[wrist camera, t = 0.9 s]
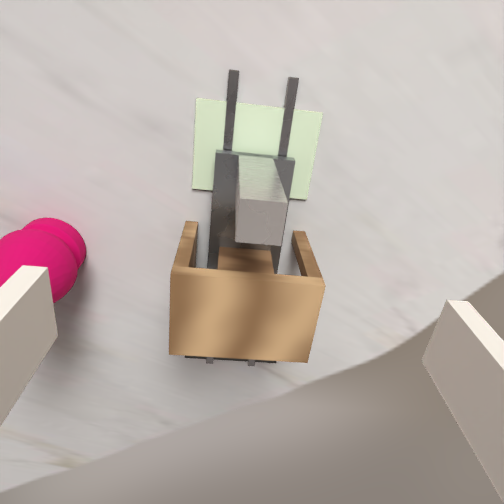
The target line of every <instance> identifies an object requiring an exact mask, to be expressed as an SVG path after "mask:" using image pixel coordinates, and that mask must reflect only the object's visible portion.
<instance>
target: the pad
mask: <svg viewBox="0 0 504 504" xmlns="http://www.w3.org/2000/svg"><path fill="white" fill-rule="evenodd" d="M226 105H227V101H219V100H211V99H202V98H196V113H195V136H194V158H193V181H192V189H202V190H212V191H213V182H214V168H215V153H216V149H217V150H223V143H224V131H225V118H226ZM284 109H285V108H280V107H271V106H262V105H254V104H245V103H236V110H235V121H234V133H233V144H232V151H236V152H245V153H255V154H264V155H274V156H278V150H279V144H280V137H281V130H282V123H283V116H284ZM322 115H323V113H322V112H314V111H305V110H297V109H294V113H293V119H292V126H291V132H290V139H289V145H288V152H287V157H293V158H294V159H295V167H294V173H293V179H292V185H291V191H290V197H289V198H295V199H306V200H307V195H308V190H309V185H310V179H311V174H312V169H313V163H314V158H315V153H316V147H317V142H318V137H319V131H320V126H321V121H322Z"/></svg>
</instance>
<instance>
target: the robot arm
mask: <svg viewBox="0 0 504 504" xmlns="http://www.w3.org/2000/svg"><path fill="white" fill-rule="evenodd" d="M57 337H58V332H57V325H56V318H55V312H54V305H53V299H52V292H51V285H50V279H49V272H48V267H38V266H26V265H22V266H21V267H20V268H19V269H18V270H17V271H16V272H15V273H14V274H13V275H12V276H11V277H10V278H9V279H8V280H7V281H6V282H5V283H4V284H3V285H2V286H1V287H0V426H1V425H2V423H3V422H4V420H5V418H6V417H7V415H8V414H9V412H10V411H11V409H12V407H13V406H14V404H15V403H16V401H17V400H18V398H19V396H20V395H21V393H22V392H23V390H24V389H25V387H26V385H27V384H28V382H29V381H30V379H31V378H32V376H33V374H34V373H35V371H36V370H37V368H38V367H39V365H40V363H41V362H42V360H43V359H44V357H45V356H46V354H47V352H48V351H49V349H50V348H51V346H52V345H53V343H54V341H55V340H56V338H57ZM422 363H423V364H424V366H425V368H426V370H427V372H428V373H429V375H430V377H431V378H432V380H433V382H434V384H435V385H436V387H437V389H438V390H439V392H440V394H441V396H442V398H443V399H444V401H445V403H446V405H447V406H448V408H449V410H450V411H451V413H452V415H453V417H454V418H455V420H456V422H457V423H458V425H459V427H460V429H461V431H462V432H463V434H464V436H465V438H466V439H467V441H468V443H469V444H470V446H471V448H472V450H473V451H474V453H475V455H476V457H477V458H478V460H479V462H480V464H481V465H482V467H483V469H484V471H485V472H486V474H487V476H488V478H489V479H490V481H491V483H492V484H493V486H494V488H495V490H496V491H497V493H498V495H499V497H500V498H501V500H502V502H503V503H504V341H503V340H502V339H501V338H500V337H499V336H498V334H497V333H496V332H495V331H494V330H493V329H492V328H491V327H490V325H489V324H488V323H487V322H486V321H485V320H484V319H483V318H482V317H481V316H480V314H479V313H478V312H477V311H476V310H475V309H474V308H473V306H472V305H471V304H470V303H469V302H467V301H466V302H465V301H454V300H446V303H445V305H444V308H443V310H442V312H441V315H440V317H439V320H438V322H437V324H436V327H435V329H434V332H433V334H432V337H431V339H430V342H429V344H428V346H427V349H426V351H425V354H424V356H423V358H422Z"/></svg>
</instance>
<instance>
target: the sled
mask: <svg viewBox="0 0 504 504" xmlns="http://www.w3.org/2000/svg"><path fill="white" fill-rule="evenodd" d="M294 167H295V159H294V158H293V157H283V156H274V155H264V154H255V153H245V152H236V151H226V150H217V149H216V153H215V168H214V182H213V196H212V211H211V225H210V239H209V253H208V268H207V269H218V257H219V247H231V248H243V249H254V250H266V251H271V257H272V263H273V269H274V274H277V270H278V264H279V258H280V252H281V246H282V240H283V234H284V228H285V222H286V216H287V210H288V204H289V197H290V191H291V185H292V179H293V173H294Z"/></svg>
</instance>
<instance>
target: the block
mask: <svg viewBox="0 0 504 504" xmlns="http://www.w3.org/2000/svg"><path fill="white" fill-rule="evenodd" d="M217 270H229V271H242V272H255V273H267V274H274V269H273V263H272V257H271V251H266V250H254V249H243V248H231V247H219V257H218V269H217Z"/></svg>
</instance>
